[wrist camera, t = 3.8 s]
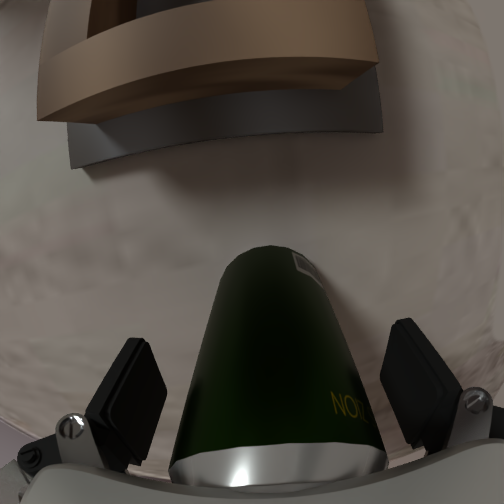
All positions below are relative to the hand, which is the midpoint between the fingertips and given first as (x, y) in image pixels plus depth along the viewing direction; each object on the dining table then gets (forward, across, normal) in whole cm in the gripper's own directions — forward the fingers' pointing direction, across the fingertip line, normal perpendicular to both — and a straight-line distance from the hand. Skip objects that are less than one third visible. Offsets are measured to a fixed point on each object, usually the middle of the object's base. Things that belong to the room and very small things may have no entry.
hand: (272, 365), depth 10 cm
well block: (+6, +2, -16) cm, 17 cm away
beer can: (+6, 0, 0) cm, 6 cm away
